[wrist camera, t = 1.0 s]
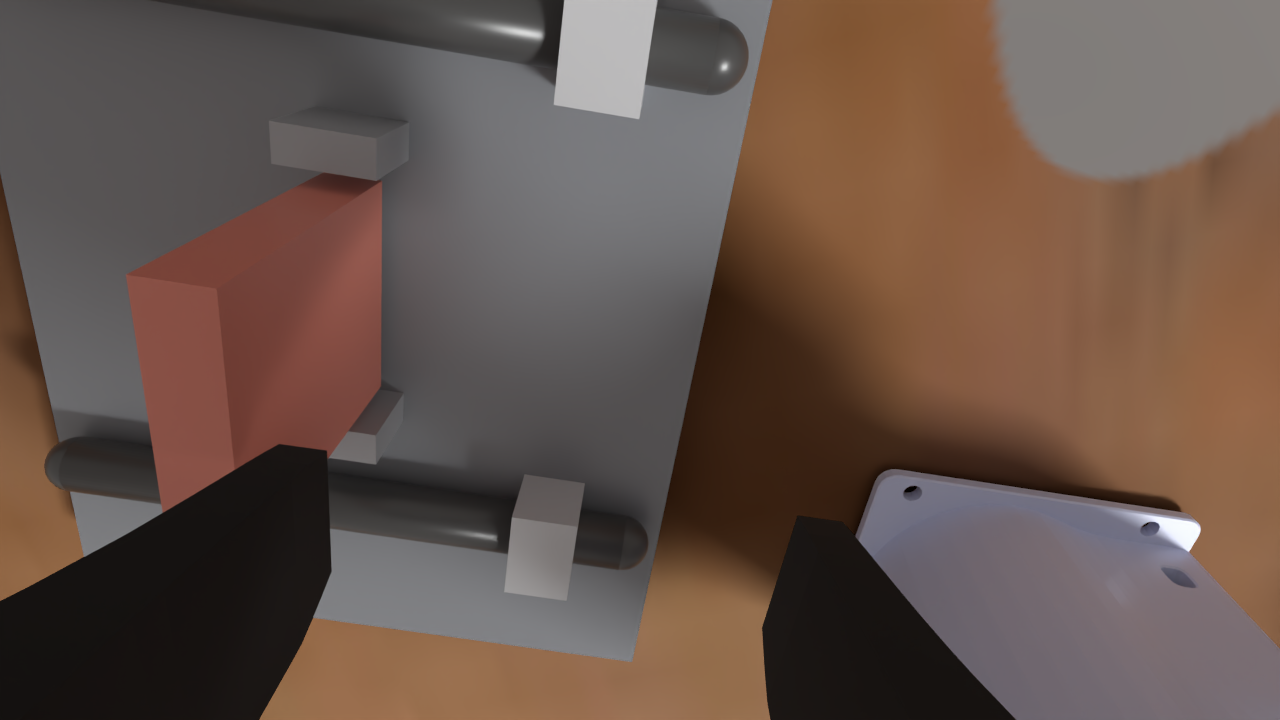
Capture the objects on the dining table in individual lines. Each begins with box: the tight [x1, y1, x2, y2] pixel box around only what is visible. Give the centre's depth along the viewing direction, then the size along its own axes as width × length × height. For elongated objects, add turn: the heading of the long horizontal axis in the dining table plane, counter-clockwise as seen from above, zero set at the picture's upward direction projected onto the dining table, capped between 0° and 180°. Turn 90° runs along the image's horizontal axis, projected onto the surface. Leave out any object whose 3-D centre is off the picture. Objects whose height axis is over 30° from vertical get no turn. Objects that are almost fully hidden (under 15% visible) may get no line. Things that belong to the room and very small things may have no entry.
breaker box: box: [0, 0, 772, 662], centre depth 17 cm, size 16×22×4 cm
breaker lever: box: [126, 172, 382, 512], centre depth 14 cm, size 1×5×6 cm, turn 171°
